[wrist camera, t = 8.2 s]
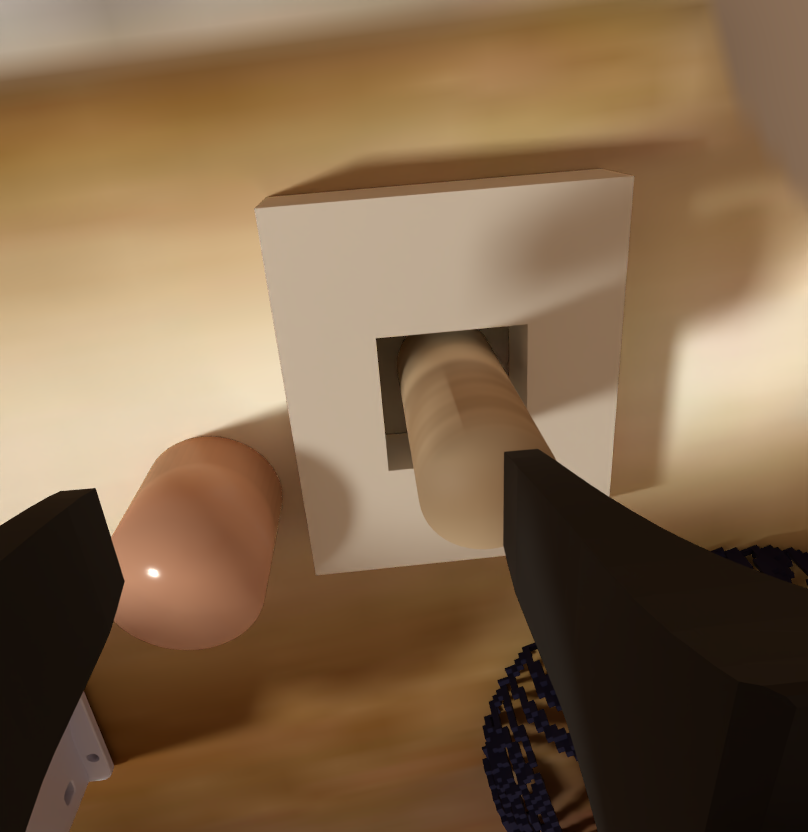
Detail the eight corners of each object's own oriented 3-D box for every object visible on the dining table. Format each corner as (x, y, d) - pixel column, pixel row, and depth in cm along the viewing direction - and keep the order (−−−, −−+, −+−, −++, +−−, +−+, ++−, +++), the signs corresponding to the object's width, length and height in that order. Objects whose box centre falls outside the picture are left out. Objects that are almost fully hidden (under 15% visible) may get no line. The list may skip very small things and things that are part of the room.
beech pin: (495, 399, 22) (562, 537, 15) (404, 413, 22) (427, 559, 15) (487, 310, 21) (558, 416, 14) (390, 325, 21) (409, 438, 14)
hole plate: (582, 505, 24) (605, 545, 22) (319, 532, 24) (315, 575, 22) (601, 168, 19) (634, 175, 17) (266, 197, 19) (254, 208, 17)
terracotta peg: (291, 542, 24) (277, 641, 20) (164, 555, 24) (120, 658, 20) (271, 429, 22) (249, 510, 18) (130, 443, 22) (73, 528, 17)
